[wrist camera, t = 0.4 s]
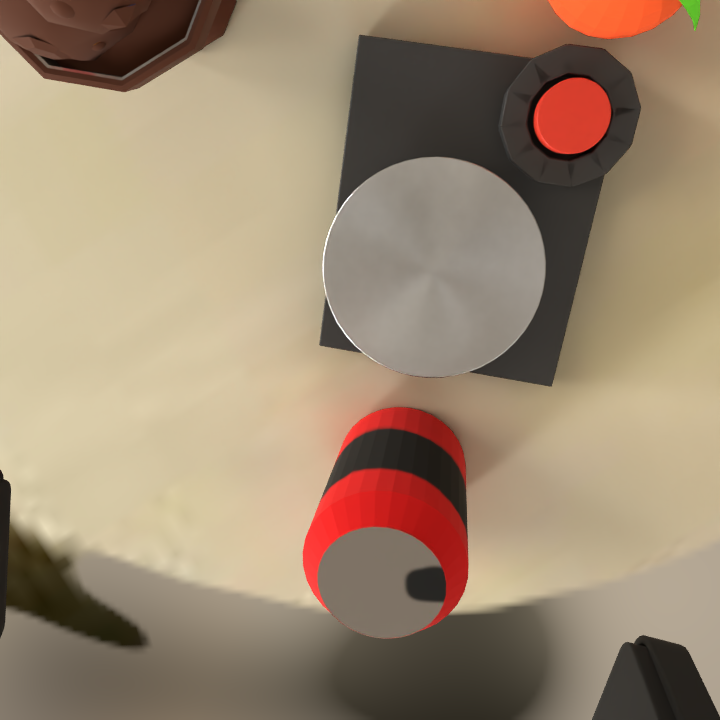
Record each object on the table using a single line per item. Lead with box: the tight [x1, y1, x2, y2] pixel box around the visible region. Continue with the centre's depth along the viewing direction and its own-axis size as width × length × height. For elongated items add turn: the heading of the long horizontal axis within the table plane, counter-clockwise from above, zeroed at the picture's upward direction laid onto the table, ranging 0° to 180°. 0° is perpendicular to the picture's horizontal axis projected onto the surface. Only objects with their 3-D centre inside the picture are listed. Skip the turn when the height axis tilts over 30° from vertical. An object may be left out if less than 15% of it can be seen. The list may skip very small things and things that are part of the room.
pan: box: [323, 156, 546, 378], centre depth 33 cm, size 11×11×1 cm
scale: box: [319, 35, 641, 386], centre depth 34 cm, size 16×14×3 cm
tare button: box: [533, 78, 611, 154], centre depth 30 cm, size 3×3×2 cm
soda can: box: [303, 407, 468, 639], centre depth 34 cm, size 8×8×12 cm
